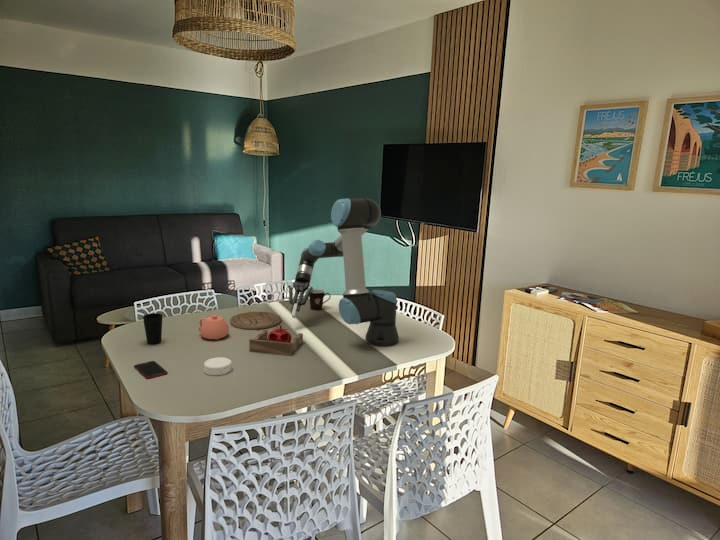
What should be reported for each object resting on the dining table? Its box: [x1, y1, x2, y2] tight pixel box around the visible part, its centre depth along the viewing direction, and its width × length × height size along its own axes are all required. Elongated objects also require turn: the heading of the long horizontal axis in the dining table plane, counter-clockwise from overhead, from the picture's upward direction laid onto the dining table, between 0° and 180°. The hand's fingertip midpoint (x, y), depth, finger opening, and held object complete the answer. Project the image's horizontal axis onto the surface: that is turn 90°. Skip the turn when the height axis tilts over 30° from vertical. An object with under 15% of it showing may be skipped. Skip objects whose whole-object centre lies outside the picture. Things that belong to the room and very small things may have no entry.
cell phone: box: [133, 360, 169, 380], centre depth 177 cm, size 8×15×1 cm, turn 43°
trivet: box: [229, 311, 282, 331], centre depth 237 cm, size 25×25×2 cm
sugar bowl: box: [197, 314, 230, 341], centre depth 214 cm, size 12×14×10 cm
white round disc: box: [203, 356, 233, 376], centre depth 179 cm, size 10×10×4 cm
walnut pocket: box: [248, 329, 304, 357], centre depth 205 cm, size 16×18×5 cm
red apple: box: [267, 324, 293, 343], centre depth 206 cm, size 10×10×9 cm
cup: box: [142, 312, 163, 346], centre depth 204 cm, size 8×8×12 cm
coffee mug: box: [308, 288, 332, 311], centre depth 263 cm, size 12×9×10 cm
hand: (293, 316), depth 226 cm, fingers closed
